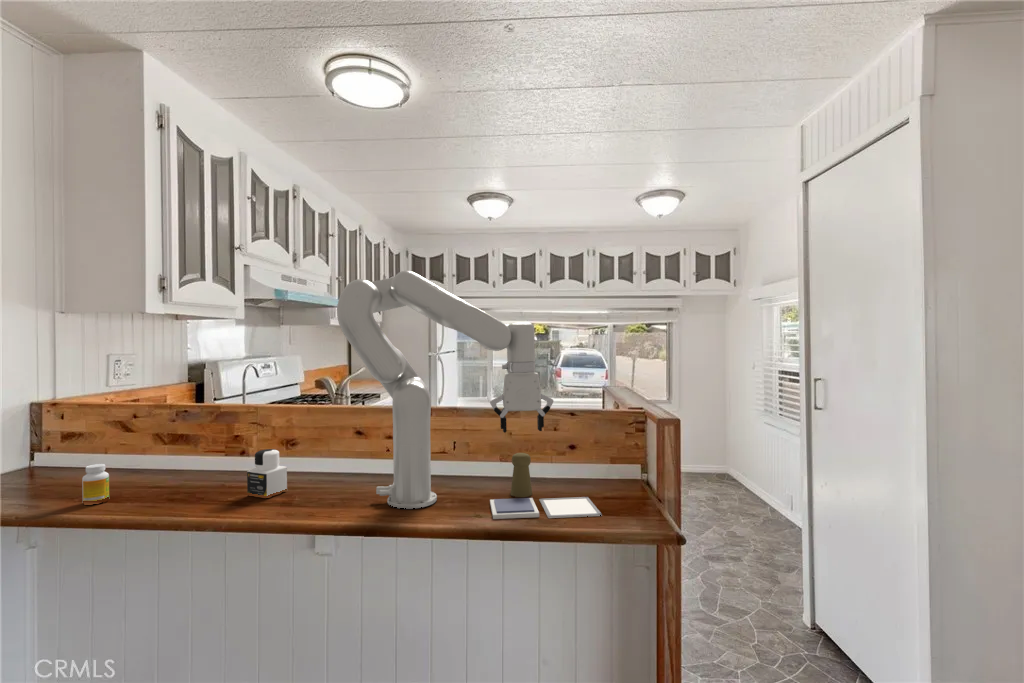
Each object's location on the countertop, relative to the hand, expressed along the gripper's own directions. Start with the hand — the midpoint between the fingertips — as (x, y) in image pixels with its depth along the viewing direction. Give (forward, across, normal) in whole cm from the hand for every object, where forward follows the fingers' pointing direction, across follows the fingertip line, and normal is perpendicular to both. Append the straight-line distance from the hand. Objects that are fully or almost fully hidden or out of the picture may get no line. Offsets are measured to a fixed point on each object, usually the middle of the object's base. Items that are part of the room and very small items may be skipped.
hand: (522, 430), depth 138 cm
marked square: (+17, +10, -13) cm, 24 cm away
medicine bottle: (+16, -70, +8) cm, 72 cm away
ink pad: (+17, -4, -13) cm, 22 cm away
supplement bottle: (+16, -112, +6) cm, 113 cm away
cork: (+17, -1, 0) cm, 17 cm away
